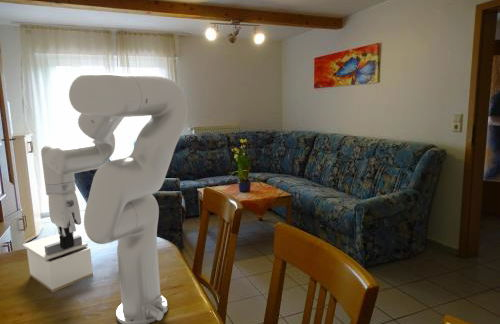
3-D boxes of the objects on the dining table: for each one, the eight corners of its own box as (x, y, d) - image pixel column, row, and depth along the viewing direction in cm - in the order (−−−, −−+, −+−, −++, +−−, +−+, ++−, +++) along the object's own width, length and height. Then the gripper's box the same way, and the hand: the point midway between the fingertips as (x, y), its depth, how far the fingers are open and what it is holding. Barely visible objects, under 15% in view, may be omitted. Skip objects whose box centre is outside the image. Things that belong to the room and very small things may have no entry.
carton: (93, 275, 107) (90, 248, 105) (52, 292, 97) (48, 263, 96) (69, 261, 116) (66, 236, 115) (30, 275, 107) (26, 249, 105)
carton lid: (87, 245, 106) (86, 235, 106) (45, 260, 97) (43, 249, 96) (63, 234, 116) (62, 225, 116) (23, 246, 107) (21, 236, 106)
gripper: (86, 188, 96) (92, 249, 99) (62, 181, 105) (68, 237, 108) (58, 194, 90) (66, 258, 93) (35, 186, 99) (43, 245, 102)
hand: (67, 247), depth 101 cm, fingers closed
